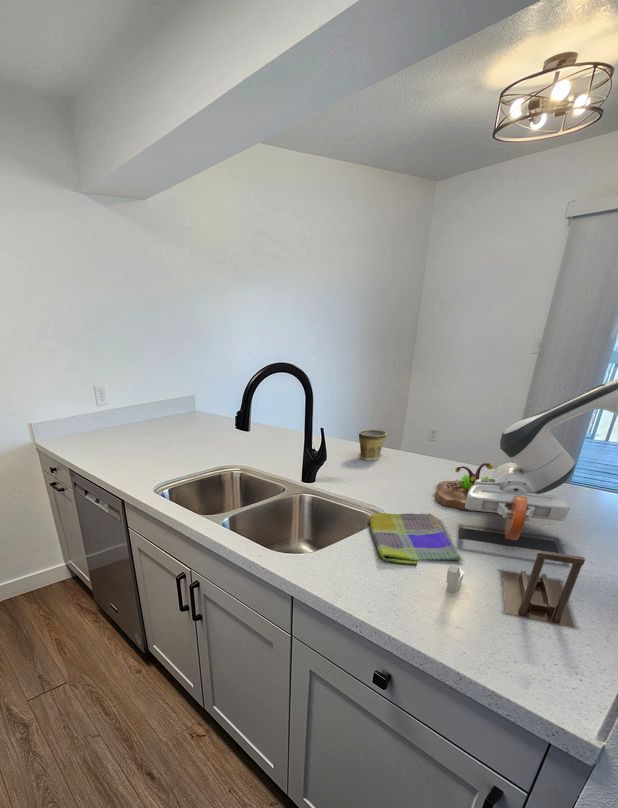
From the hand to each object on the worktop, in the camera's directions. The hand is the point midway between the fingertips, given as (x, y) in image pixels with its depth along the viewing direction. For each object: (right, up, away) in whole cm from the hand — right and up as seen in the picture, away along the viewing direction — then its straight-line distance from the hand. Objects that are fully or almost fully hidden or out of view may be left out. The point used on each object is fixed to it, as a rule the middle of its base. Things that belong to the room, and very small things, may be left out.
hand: (516, 516), depth 97 cm
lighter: (-21, -17, -11) cm, 29 cm away
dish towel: (-20, -6, +10) cm, 23 cm away
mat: (+1, -7, +4) cm, 9 cm away
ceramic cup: (-7, +27, +72) cm, 78 cm away
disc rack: (-7, -17, -14) cm, 23 cm away
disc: (+1, -5, +3) cm, 6 cm away
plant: (+9, +7, +31) cm, 33 cm away
